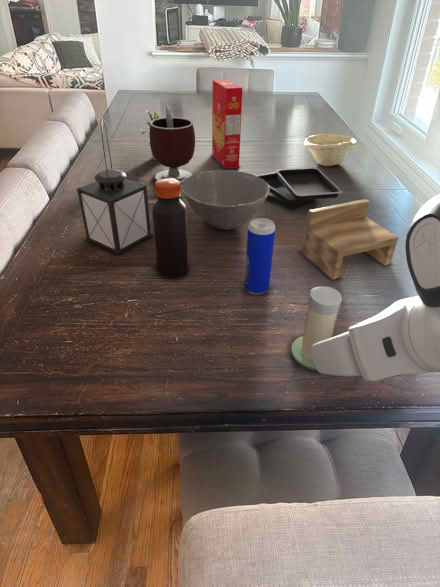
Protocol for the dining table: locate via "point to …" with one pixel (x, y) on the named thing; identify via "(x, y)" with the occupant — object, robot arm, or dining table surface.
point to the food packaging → (226, 122)
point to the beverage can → (259, 255)
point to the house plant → (149, 124)
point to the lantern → (114, 209)
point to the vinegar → (170, 229)
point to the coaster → (301, 355)
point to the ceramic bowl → (225, 196)
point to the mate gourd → (172, 145)
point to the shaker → (320, 317)
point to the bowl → (329, 148)
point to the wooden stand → (345, 236)
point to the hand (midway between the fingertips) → (351, 341)
